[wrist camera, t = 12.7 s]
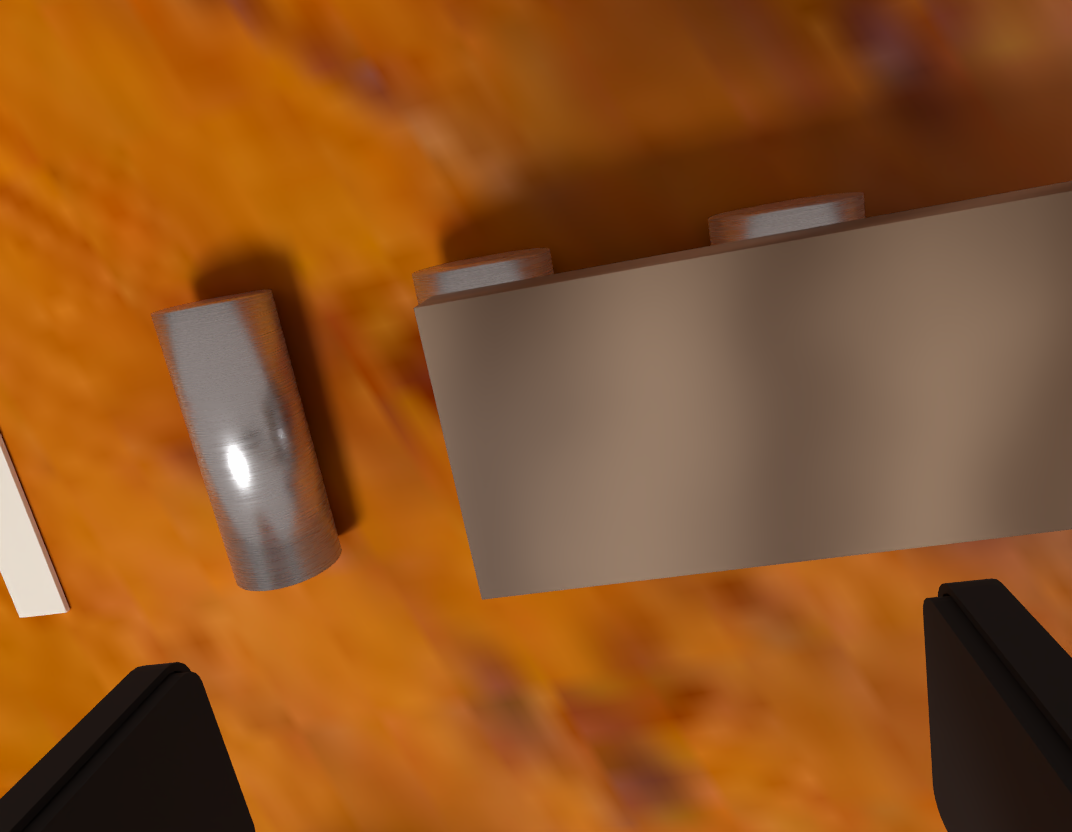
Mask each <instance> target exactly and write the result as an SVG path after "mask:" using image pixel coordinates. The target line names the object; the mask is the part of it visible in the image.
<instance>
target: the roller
mask: <svg viewBox="0 0 1072 832" xmlns="http://www.w3.org/2000/svg"><path fill="white" fill-rule="evenodd" d="M151 317H152V320H153V323H154V326H155V329H156V332H157V335H158V339H159V342H160V345H161V348H162V351H163V354H164V357H165V360H166V364H167V367H168V370H169V373H170V376H171V379H172V382H173V385H174V389H175V392H176V395H177V398H178V401H179V404H180V407H181V410H182V414H183V417H184V420H185V423H186V426H187V429H188V432H189V436H190V439H191V442H192V445H193V448H194V451H195V454H196V457H197V461H198V464H199V467H200V470H201V473H202V476H203V479H204V482H205V486H206V489H207V492H208V495H209V498H210V501H211V504H212V507H213V511H214V514H215V517H216V520H217V523H218V526H219V529H220V533H221V536H222V539H223V542H224V545H225V548H226V551H227V554H228V558H229V561H230V564H231V567H232V570H233V573H234V576H235V579H236V583H237V585H238V586H239V587H241V588H243V589H245V590H250V591H267V590H274V589H280V588H284V587H288V586H291V585H294V584H297V583H300V582H303V581H305V580H307V579H310V578H312V577H314V576H316V575H318V574H319V573H321V572H323V571H324V570H326V569H327V568H329V567H330V566H331V565H332V564H334V563H335V562H336V560H337V559H338V558H339V556H340V555H341V551H342V549H341V545H340V541H339V538H338V534H337V530H336V527H335V523H334V519H333V516H332V512H331V508H330V505H329V501H328V497H327V493H326V490H325V486H324V482H323V479H322V475H321V471H320V468H319V464H318V460H317V457H316V453H315V449H314V445H313V442H312V438H311V434H310V431H309V427H308V423H307V420H306V416H305V412H304V409H303V405H302V401H301V397H300V394H299V390H298V386H297V383H296V379H295V375H294V372H293V368H292V364H291V361H290V357H289V353H288V349H287V346H286V342H285V338H284V335H283V331H282V327H281V324H280V320H279V316H278V313H277V309H276V305H275V302H274V298H273V294H272V290H271V289H265V290H257V291H251V292H245V293H239V294H233V295H227V296H222V297H216V298H211V299H206V300H201V301H196V302H192V303H187V304H183V305H179V306H174V307H170V308H167V309H163V310H159V311H156V312H153V313H151Z"/></svg>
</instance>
